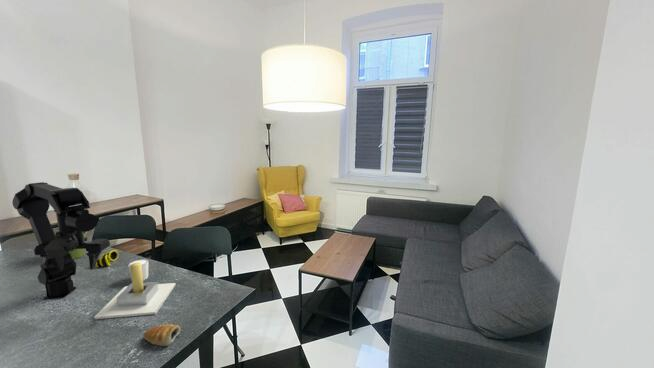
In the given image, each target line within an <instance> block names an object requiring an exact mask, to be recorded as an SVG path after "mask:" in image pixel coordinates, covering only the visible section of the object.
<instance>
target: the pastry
mask: <svg viewBox="0 0 654 368" xmlns="http://www.w3.org/2000/svg"><path fill="white" fill-rule="evenodd" d="M180 333H181V326H179V325H178V324H171V323H166V324H163V325H160V324H159V325H155V326H153V327H150V329H148V330H147V331H145V332H144V333H143V339H144V340H146V341H147V342H149V343H151V345H156V346H160V347H161V346H162V347H168V346H170V345H171V344H172V343H173V342H174V341H175V340H176V338H177V336H179V335H180Z"/></svg>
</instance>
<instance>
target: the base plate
mask: <svg viewBox="0 0 654 368" xmlns="http://www.w3.org/2000/svg"><path fill="white" fill-rule="evenodd" d="M128 286H129V285H127V286H124V287H123V288H122V289H121V290H119V292H118V293H117V294H115V296H113V298H112V299H110V301H109V302H107V304H105V306H104V307H102V308H101V309H100V310H99V312H98V313H96V314H95V316H93V319H94V320H100V319H101V320H102V319H103V320H104V319H114V318H125V317H134V316H135V317H136V316H149V315H156V314H157V312H158V311H160V308H161V307H162V305H163V304H164V303H165V301H166V299H167V298H168V297H169V295H170V294H171V292H172V291H173V289H174V288H175V287H176V282H172V283H171V282H170V283H158V291H157V292H156V294H155V295H154V296H153V298H152V299H151V300H150V301H149V303H148V304H147V305H138V306H125V307H118V304H117V297H118V296H119V295H120V294H121V293H122V292H123V291H124V290H125V289H126V288H127V287H128Z"/></svg>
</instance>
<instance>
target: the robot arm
mask: <svg viewBox="0 0 654 368" xmlns="http://www.w3.org/2000/svg"><path fill="white" fill-rule="evenodd" d="M11 202H12V206H13V208H14V209H15V210H16V211H17V213H18V214H19V215H20V216H21V217H23V218H25V219H26V220H28V221H29V225H30V226H31V228H32V232H33V234H34V237H35V239H36V241H37V243H38V245H36V246H35V247H34V248H33V252H34V255H35V256H39V257H40V258H42V260H41V263H40V269H41V270H40V271H39V273H38V275H37V280H38V282H39V283H40V284H42V285H44V287H45V292H46V295H45V296H43V298H42V299H43V300H51V299H52V300H55V299H64V298H66V296H68V295H70V294H71V293H72V292H74V291H75V290H76V289H77V287H76V286H74V281H73V279H72V276H76V273H77V262H76V261H75V259H72V257H71V254H70V253H69V251H74V249H84V250H85V251H86V252H87V253H85V255H86V256H87V257H88V261H89V262H88V263H89V268H90V270H91V271H93V270H94V269H95V267H96V262H97V260H98V259H100V258H99V257H100V255H101V253H102V252H103V251H104V250H105V249H107V248H109V247H110V246H111V242H110V240H109V239H108V238H95V239H93V240H92V241H89V242H87V241H88V237H86V238H84V233H83V232H87V233H88V232H91V231H92V230H94V229H95V228H96V227H97V225H98V222H99V221H98V218H97V217H96V216H95V214H93V213H89V211H90V210H89V209H91V206H90V202H89V200H88V199H87V197H86V196H85V195H84V193H83V191H81V190H80V189H79V188H78V187H67V188H66V187H65V188H63V187H58V186H55V185H51V184H49V183H48V182H44V181H42V182H33V183H28V184H25V186H24V188H23V189H21V190H19V191H18V192H16V193H15V194H14V197H12V201H11ZM50 206H51V208H52V209H53V210H54V213H55V214H56V215H55V216H56V220H57V222H56V223H57V228H58V231H56V232H54V229H53V227H52V224H51V221H50V219H49V217H48V214H47V213H48V211H49V209H50Z"/></svg>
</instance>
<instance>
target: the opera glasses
mask: <svg viewBox="0 0 654 368" xmlns="http://www.w3.org/2000/svg"><path fill="white" fill-rule="evenodd" d="M118 258H119V252H118V250H113V249H112V250H110V251H108V252H105V253H103V254H102V255H101V257H100V258H98V260H97V262H96V265H95V267H96V268H100V267H105V266H107V267H109V266H111V262H114V261H116V260H117V259H118Z"/></svg>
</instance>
